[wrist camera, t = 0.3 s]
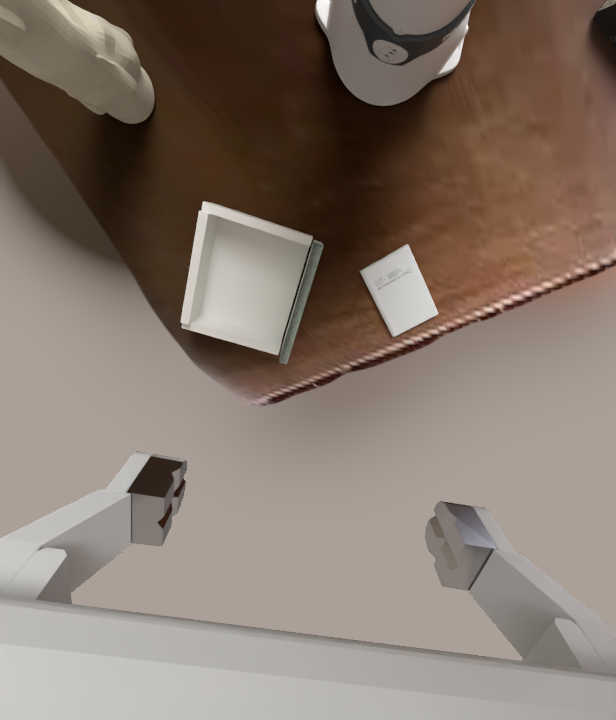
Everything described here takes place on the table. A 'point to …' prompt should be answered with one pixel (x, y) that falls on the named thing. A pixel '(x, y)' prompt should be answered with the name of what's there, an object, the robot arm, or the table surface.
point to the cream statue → (77, 56)
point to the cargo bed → (242, 277)
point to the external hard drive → (399, 291)
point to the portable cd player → (607, 20)
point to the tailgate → (301, 300)
